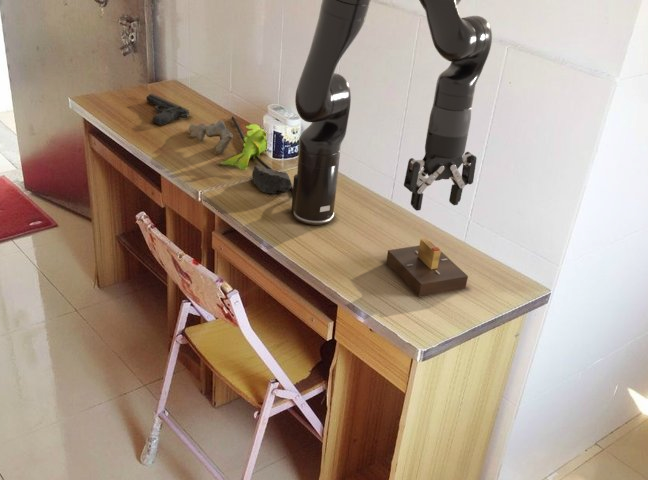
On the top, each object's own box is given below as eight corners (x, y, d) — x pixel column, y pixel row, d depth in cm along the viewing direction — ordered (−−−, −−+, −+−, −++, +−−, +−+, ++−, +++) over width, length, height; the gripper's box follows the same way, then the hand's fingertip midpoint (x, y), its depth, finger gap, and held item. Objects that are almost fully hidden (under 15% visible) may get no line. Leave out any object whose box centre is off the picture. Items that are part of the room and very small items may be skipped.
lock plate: (385, 262, 166) (387, 249, 164) (430, 255, 170) (432, 242, 168) (418, 296, 155) (421, 283, 154) (465, 288, 159) (468, 275, 157)
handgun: (123, 109, 237) (155, 100, 243) (160, 127, 225) (193, 117, 232) (122, 100, 235) (154, 91, 242) (160, 118, 223) (193, 108, 230)
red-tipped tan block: (417, 256, 163) (420, 238, 160) (423, 255, 163) (427, 237, 161) (430, 269, 158) (434, 250, 156) (437, 268, 159) (441, 249, 156)
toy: (280, 145, 215) (284, 124, 209) (242, 187, 205) (245, 166, 198) (255, 132, 217) (258, 111, 211) (217, 173, 206) (219, 152, 200)
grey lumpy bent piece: (182, 131, 222) (182, 107, 218) (198, 128, 225) (198, 104, 221) (219, 156, 209) (220, 131, 205) (235, 153, 211) (236, 128, 207)
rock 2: (250, 180, 199) (246, 187, 190) (256, 158, 198) (253, 164, 188) (289, 192, 200) (287, 200, 190) (296, 170, 198) (294, 177, 188)
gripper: (469, 118, 151) (455, 194, 159) (405, 124, 146) (394, 202, 155) (491, 131, 145) (475, 210, 154) (425, 138, 140) (412, 219, 149)
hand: (434, 206), depth 154 cm, fingers open, 8 cm apart
